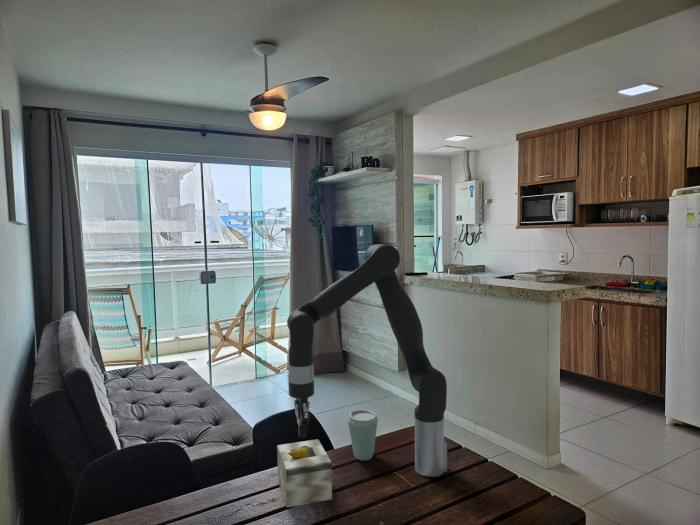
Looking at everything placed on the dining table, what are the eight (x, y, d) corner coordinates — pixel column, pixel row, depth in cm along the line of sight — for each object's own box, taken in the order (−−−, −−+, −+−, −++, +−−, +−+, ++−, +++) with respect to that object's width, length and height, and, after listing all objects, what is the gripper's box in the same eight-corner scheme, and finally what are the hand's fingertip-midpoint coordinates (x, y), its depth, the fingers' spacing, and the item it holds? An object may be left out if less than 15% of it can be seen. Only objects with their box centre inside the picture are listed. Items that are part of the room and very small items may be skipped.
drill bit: (321, 459, 139) (295, 455, 133) (310, 469, 141) (284, 467, 135) (315, 443, 143) (290, 439, 137) (305, 454, 145) (279, 450, 139)
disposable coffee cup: (384, 454, 162) (383, 411, 162) (368, 467, 153) (367, 421, 153) (358, 447, 168) (357, 405, 167) (341, 459, 159) (340, 415, 158)
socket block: (318, 472, 150) (317, 438, 150) (332, 500, 134) (331, 462, 134) (277, 479, 147) (276, 444, 146) (287, 508, 130) (286, 470, 130)
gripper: (319, 384, 134) (320, 443, 134) (309, 371, 146) (310, 426, 147) (292, 387, 131) (294, 447, 132) (284, 374, 144) (286, 429, 145)
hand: (302, 436), depth 140 cm, fingers closed
